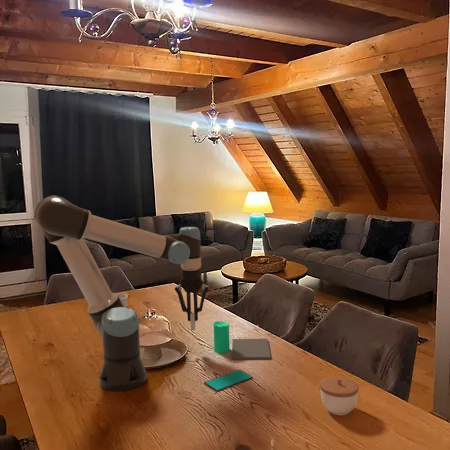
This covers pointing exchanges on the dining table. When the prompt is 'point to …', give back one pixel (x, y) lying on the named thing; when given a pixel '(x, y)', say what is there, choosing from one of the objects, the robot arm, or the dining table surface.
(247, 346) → the mat
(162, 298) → the dining table surface
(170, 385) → the dining table surface
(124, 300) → the ramekin
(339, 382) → the lidded jar
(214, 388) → the smartphone
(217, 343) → the candle
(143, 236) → the robot arm
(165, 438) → the dining table surface
